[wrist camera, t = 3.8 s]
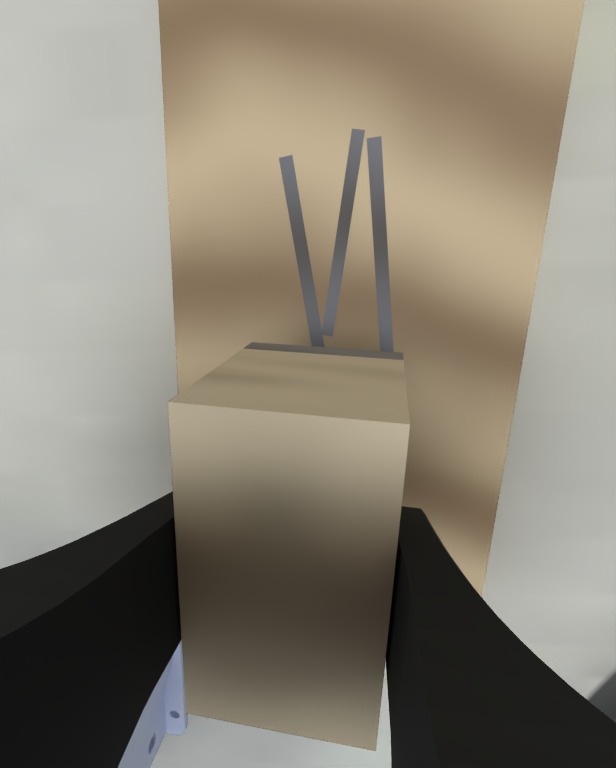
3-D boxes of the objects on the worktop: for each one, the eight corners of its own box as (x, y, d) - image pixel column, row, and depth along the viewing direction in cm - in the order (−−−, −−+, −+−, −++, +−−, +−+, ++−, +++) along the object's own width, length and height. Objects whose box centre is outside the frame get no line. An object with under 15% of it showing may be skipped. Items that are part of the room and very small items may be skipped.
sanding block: (381, 579, 14) (376, 750, 9) (252, 561, 15) (186, 712, 10) (403, 352, 12) (409, 424, 7) (251, 341, 13) (167, 401, 8)
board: (474, 587, 19) (479, 608, 18) (197, 548, 21) (186, 565, 20) (584, -78, 13) (603, -109, 12) (172, -51, 15) (154, -76, 13)
